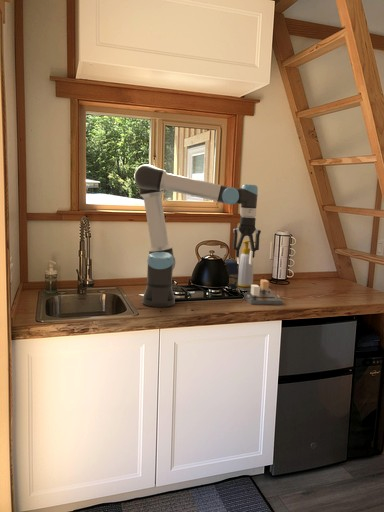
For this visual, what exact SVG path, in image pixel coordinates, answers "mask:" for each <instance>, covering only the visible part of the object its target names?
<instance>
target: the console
mask: <svg viewBox="0 0 384 512" xmlns="http://www.w3.org/2000/svg"><path fill="white" fill-rule="evenodd" d="M238 289H239V290H241V291H243V290H246V291H247V292H245V293H244V292H242V293H243V295H244V297H245V298H244V297H243V298H244V299H245V301H247V302H248V303H249V304H250V305H269V306H270V305H273V306H274V305H275V306H276V305H277V306H279V305H280V306H282V305H283V302H284V301H283V300H282V299H281V297H280V295H278V294H276V295H275V294H274V293H273V292H272V289H270V288H268V290H265V291H263V289H261V288H260V293H259V296H256V297H254V296H253V295H252V294H251V287H238ZM238 289H237V290H238Z"/></svg>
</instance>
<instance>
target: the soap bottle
mask: <svg viewBox="0 0 384 512" xmlns="http://www.w3.org/2000/svg"><path fill="white" fill-rule="evenodd" d="M242 244H244V247H242V250H241V258H240V264H239V276H238V287H239V288H251V285H254V263H253V261H252V265H250V264H249V255H250V251H251V248H249V244H250V240H243V241H242ZM254 244H255V241H254Z"/></svg>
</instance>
